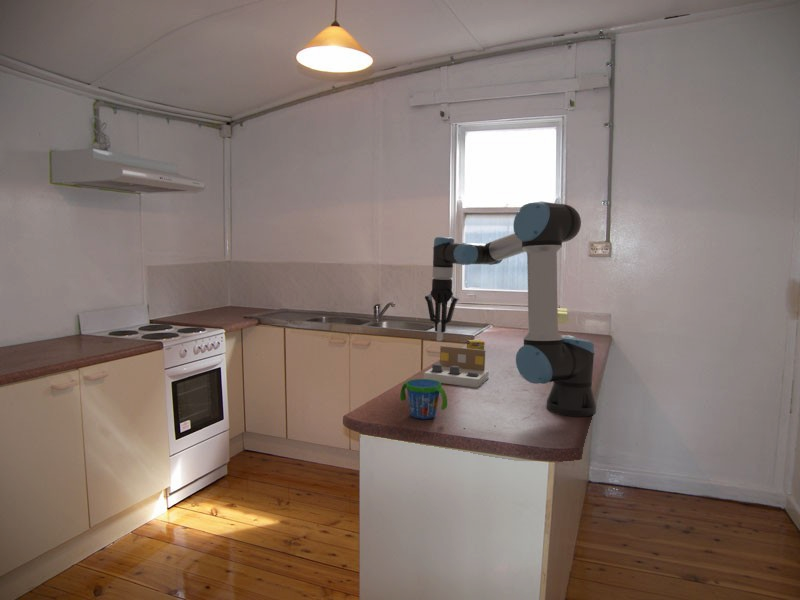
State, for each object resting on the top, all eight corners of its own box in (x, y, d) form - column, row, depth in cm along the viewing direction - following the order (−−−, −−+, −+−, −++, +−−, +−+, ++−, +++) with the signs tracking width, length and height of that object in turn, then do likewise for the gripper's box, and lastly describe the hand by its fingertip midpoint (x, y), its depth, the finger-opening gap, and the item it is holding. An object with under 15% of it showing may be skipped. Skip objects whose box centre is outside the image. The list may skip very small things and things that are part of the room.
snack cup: (391, 413, 167) (392, 380, 166) (414, 406, 174) (415, 375, 173) (431, 426, 156) (432, 391, 155) (454, 418, 164) (455, 384, 163)
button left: (439, 375, 209) (440, 366, 209) (430, 374, 210) (431, 365, 210) (442, 373, 212) (443, 364, 212) (433, 372, 214) (434, 363, 213)
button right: (475, 383, 204) (476, 374, 204) (466, 382, 205) (466, 373, 205) (478, 381, 207) (478, 372, 207) (468, 380, 209) (469, 371, 208)
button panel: (478, 387, 200) (479, 357, 199) (423, 380, 208) (424, 351, 207) (488, 378, 215) (489, 350, 214) (437, 372, 223) (438, 345, 222)
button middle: (457, 377, 206) (458, 368, 206) (448, 376, 208) (448, 367, 207) (460, 375, 210) (460, 366, 209) (451, 374, 211) (451, 365, 211)
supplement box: (470, 367, 233) (471, 342, 232) (465, 364, 239) (466, 339, 238) (483, 367, 235) (484, 341, 233) (478, 364, 240) (479, 339, 239)
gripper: (461, 278, 209) (459, 340, 211) (429, 277, 214) (427, 337, 216) (456, 280, 202) (453, 343, 204) (422, 277, 207) (420, 340, 209)
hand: (439, 340), depth 210 cm, fingers closed
